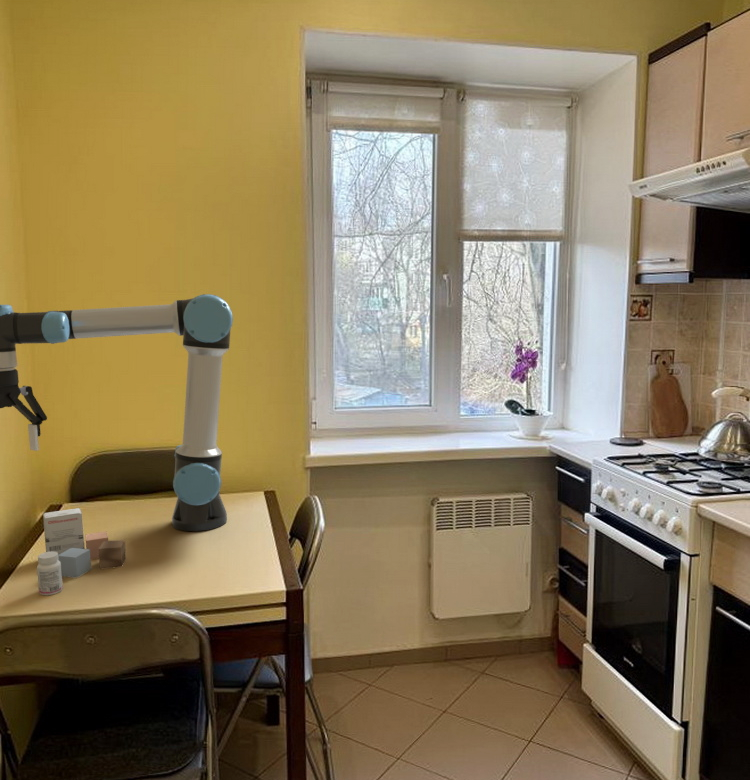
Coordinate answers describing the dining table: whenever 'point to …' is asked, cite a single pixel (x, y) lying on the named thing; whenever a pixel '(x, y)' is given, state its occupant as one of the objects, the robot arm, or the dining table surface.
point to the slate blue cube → (75, 562)
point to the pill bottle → (49, 573)
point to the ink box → (63, 530)
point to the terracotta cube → (95, 543)
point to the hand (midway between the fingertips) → (7, 455)
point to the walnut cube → (112, 554)
